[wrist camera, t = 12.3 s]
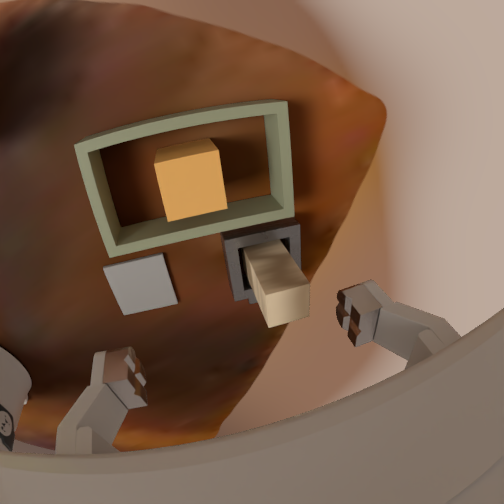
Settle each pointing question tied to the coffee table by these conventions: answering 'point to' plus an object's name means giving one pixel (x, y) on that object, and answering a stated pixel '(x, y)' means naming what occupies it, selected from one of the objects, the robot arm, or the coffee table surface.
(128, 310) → the mat
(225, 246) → the bracket
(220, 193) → the block
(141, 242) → the green rectangular frame
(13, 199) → the coffee table surface
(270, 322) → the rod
